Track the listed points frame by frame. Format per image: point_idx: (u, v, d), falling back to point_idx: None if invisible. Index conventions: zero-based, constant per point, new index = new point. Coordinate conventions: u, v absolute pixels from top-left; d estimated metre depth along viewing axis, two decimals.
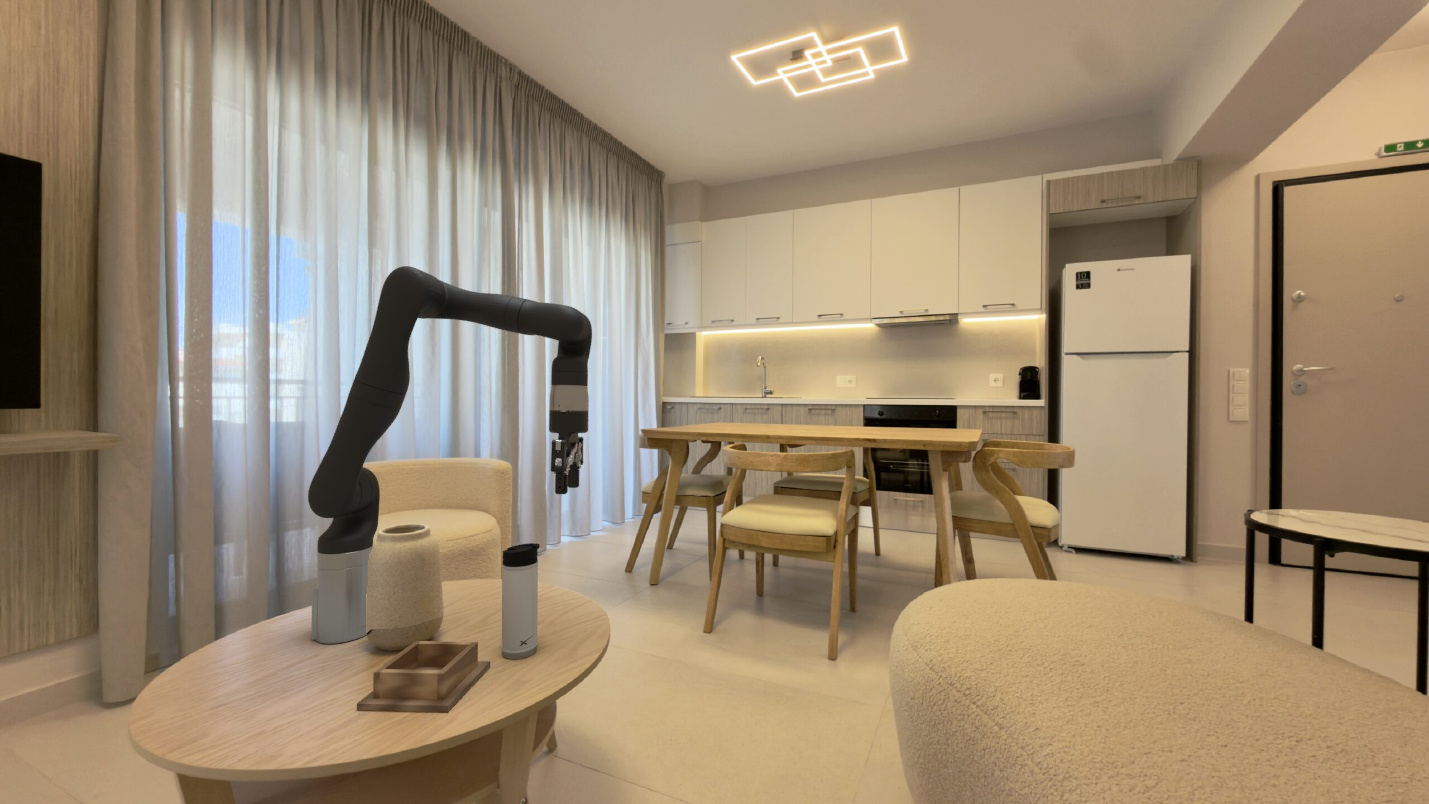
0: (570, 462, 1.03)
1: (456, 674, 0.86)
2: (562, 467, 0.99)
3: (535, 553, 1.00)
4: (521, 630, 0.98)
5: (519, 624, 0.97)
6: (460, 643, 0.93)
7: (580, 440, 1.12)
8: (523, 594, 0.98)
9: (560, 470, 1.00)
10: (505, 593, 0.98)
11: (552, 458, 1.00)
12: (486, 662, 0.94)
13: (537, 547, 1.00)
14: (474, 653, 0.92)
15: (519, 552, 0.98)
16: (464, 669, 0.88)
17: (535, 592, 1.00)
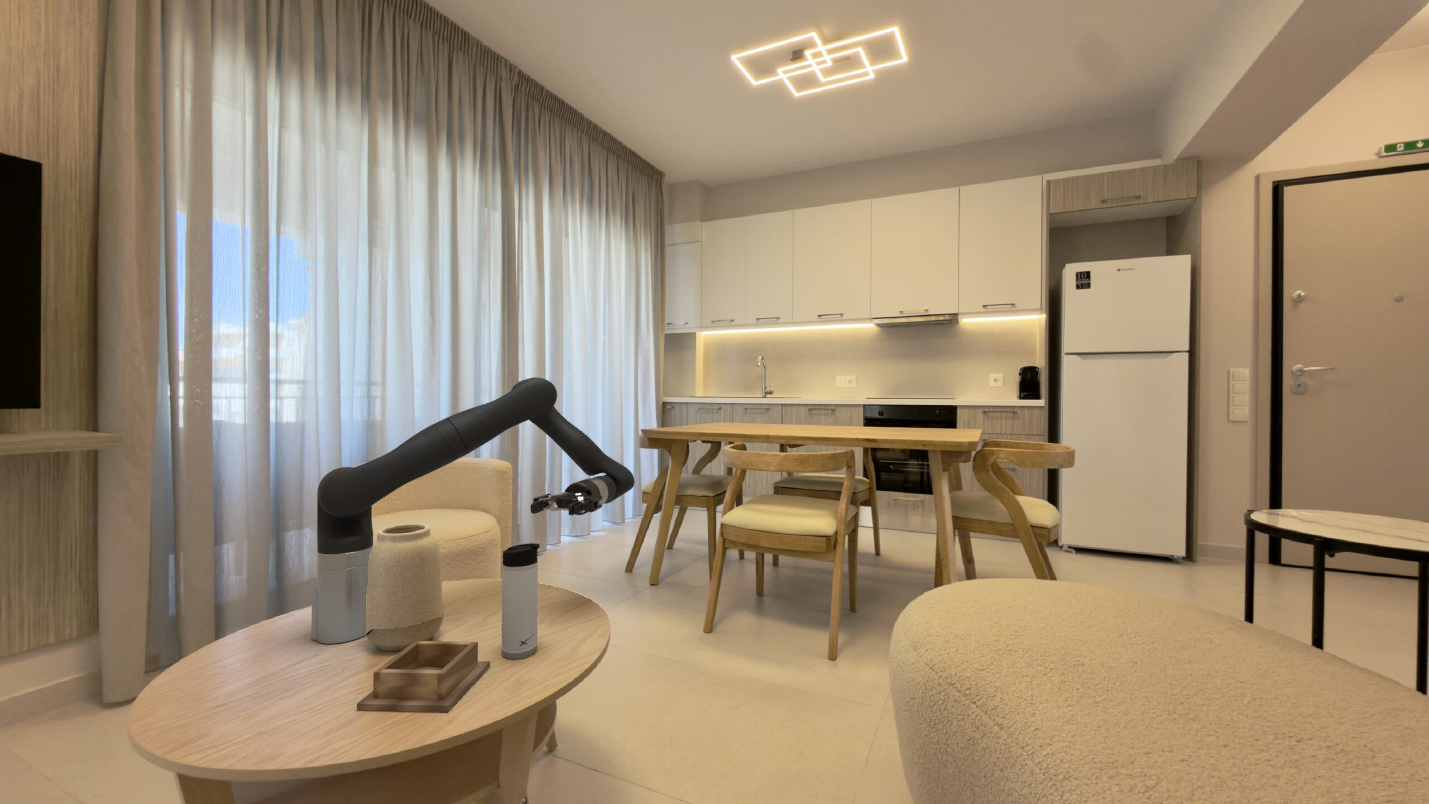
0: None
1: (456, 674, 0.86)
2: (594, 510, 1.15)
3: (535, 553, 1.00)
4: (521, 630, 0.98)
5: (519, 624, 0.97)
6: (460, 643, 0.93)
7: None
8: (523, 594, 0.98)
9: (592, 508, 1.14)
10: (505, 593, 0.98)
11: (597, 499, 1.16)
12: (486, 662, 0.94)
13: (537, 547, 1.00)
14: (474, 653, 0.92)
15: (519, 552, 0.98)
16: (464, 669, 0.88)
17: (535, 592, 1.00)
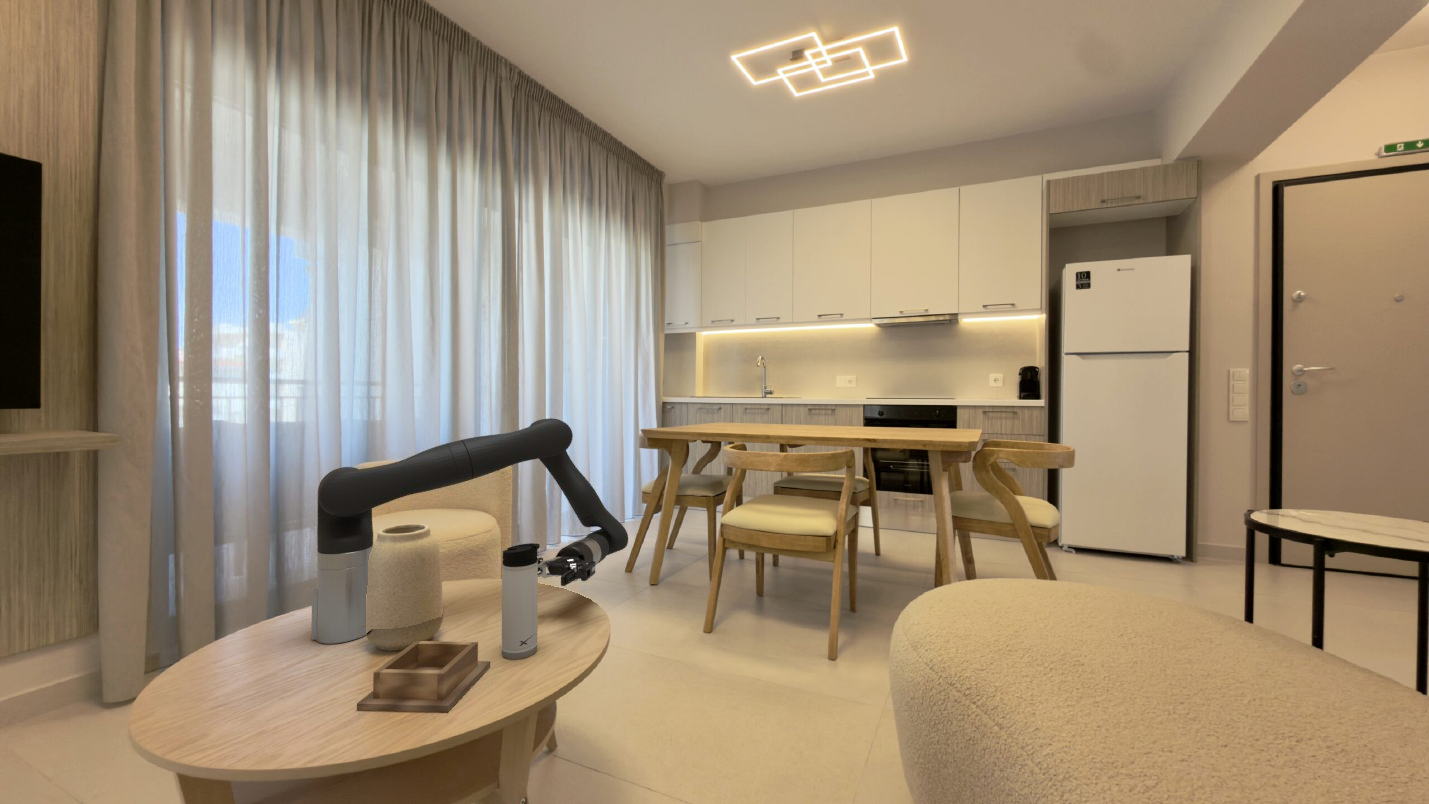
0: None
1: (456, 674, 0.86)
2: (587, 578, 1.12)
3: (535, 553, 1.00)
4: (521, 630, 0.98)
5: (519, 624, 0.97)
6: (460, 643, 0.93)
7: None
8: (523, 594, 0.98)
9: (585, 577, 1.12)
10: (505, 593, 0.98)
11: (590, 567, 1.14)
12: (486, 662, 0.94)
13: (537, 547, 1.00)
14: (474, 653, 0.92)
15: (519, 552, 0.98)
16: (464, 669, 0.88)
17: (535, 592, 1.00)
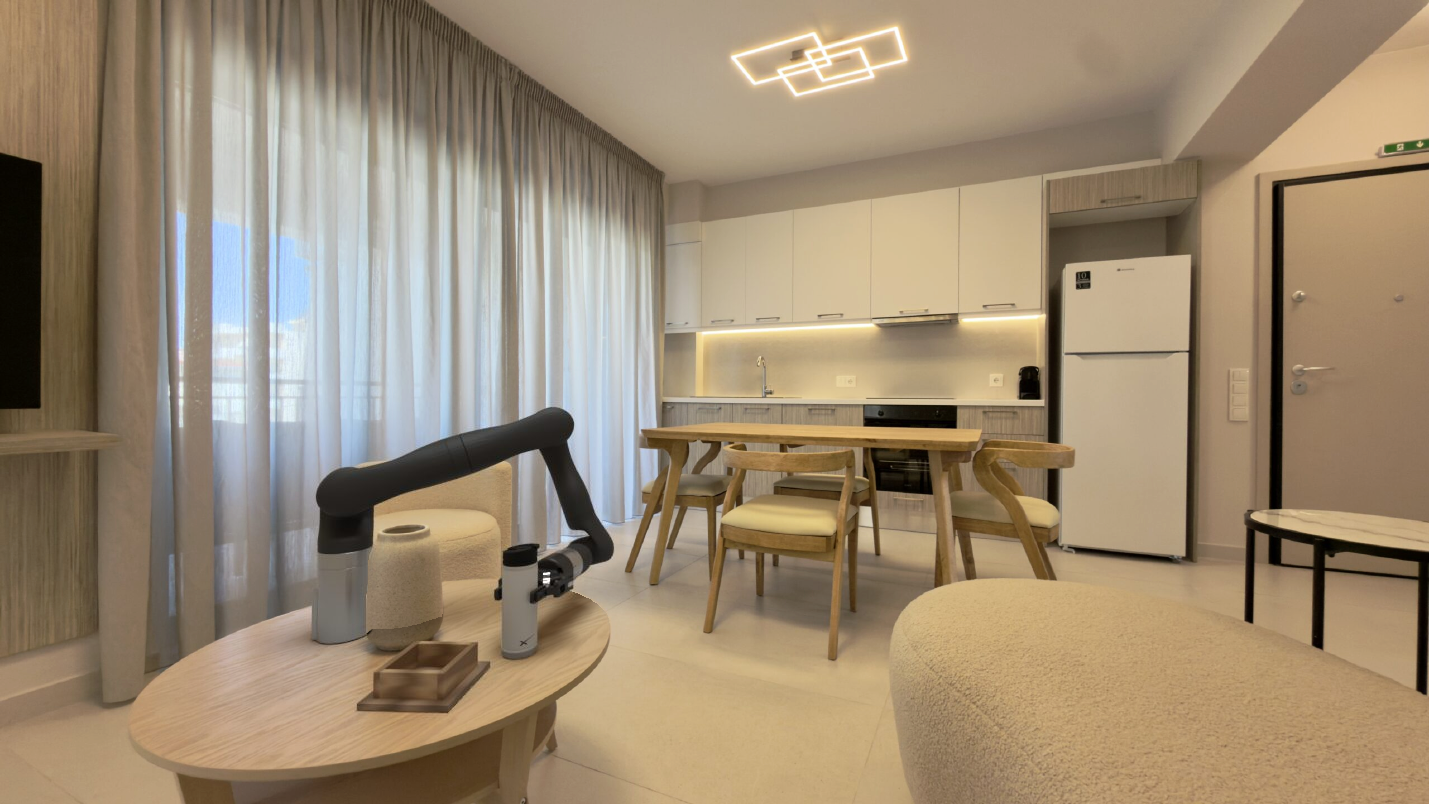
0: None
1: (456, 674, 0.86)
2: (560, 595, 1.02)
3: (535, 553, 1.00)
4: (521, 630, 0.98)
5: (519, 624, 0.97)
6: (460, 643, 0.93)
7: None
8: (523, 594, 0.98)
9: (558, 593, 1.02)
10: (505, 593, 0.98)
11: (565, 582, 1.04)
12: (486, 662, 0.94)
13: (537, 547, 1.00)
14: (474, 653, 0.92)
15: (519, 552, 0.98)
16: (464, 669, 0.88)
17: None
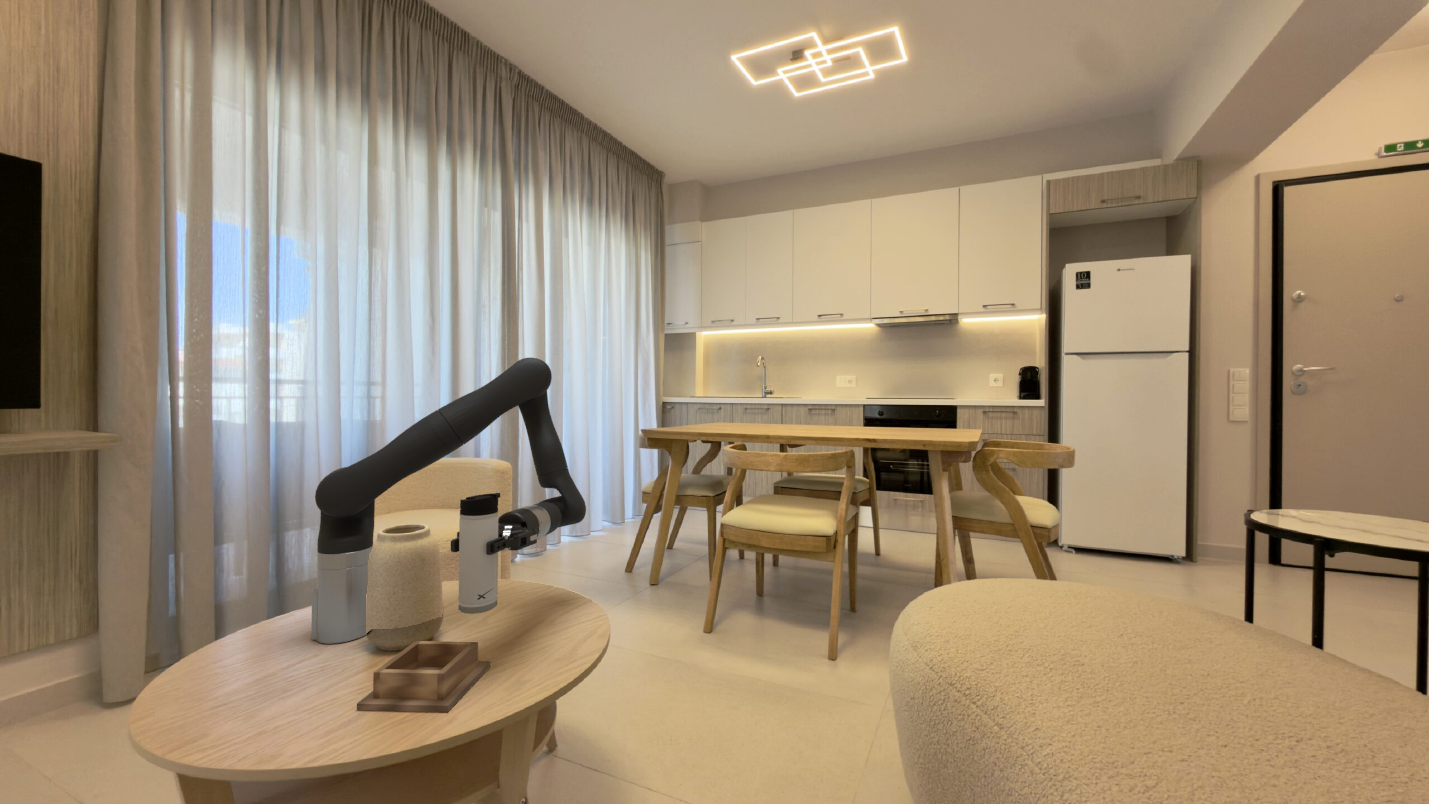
0: None
1: (456, 674, 0.86)
2: (520, 547, 0.96)
3: (495, 502, 0.94)
4: (479, 582, 0.92)
5: (477, 577, 0.91)
6: (460, 643, 0.93)
7: None
8: (481, 545, 0.92)
9: (518, 546, 0.96)
10: (462, 544, 0.92)
11: (526, 535, 0.98)
12: (486, 662, 0.94)
13: (497, 496, 0.94)
14: (474, 653, 0.92)
15: (477, 500, 0.92)
16: (464, 669, 0.88)
17: None
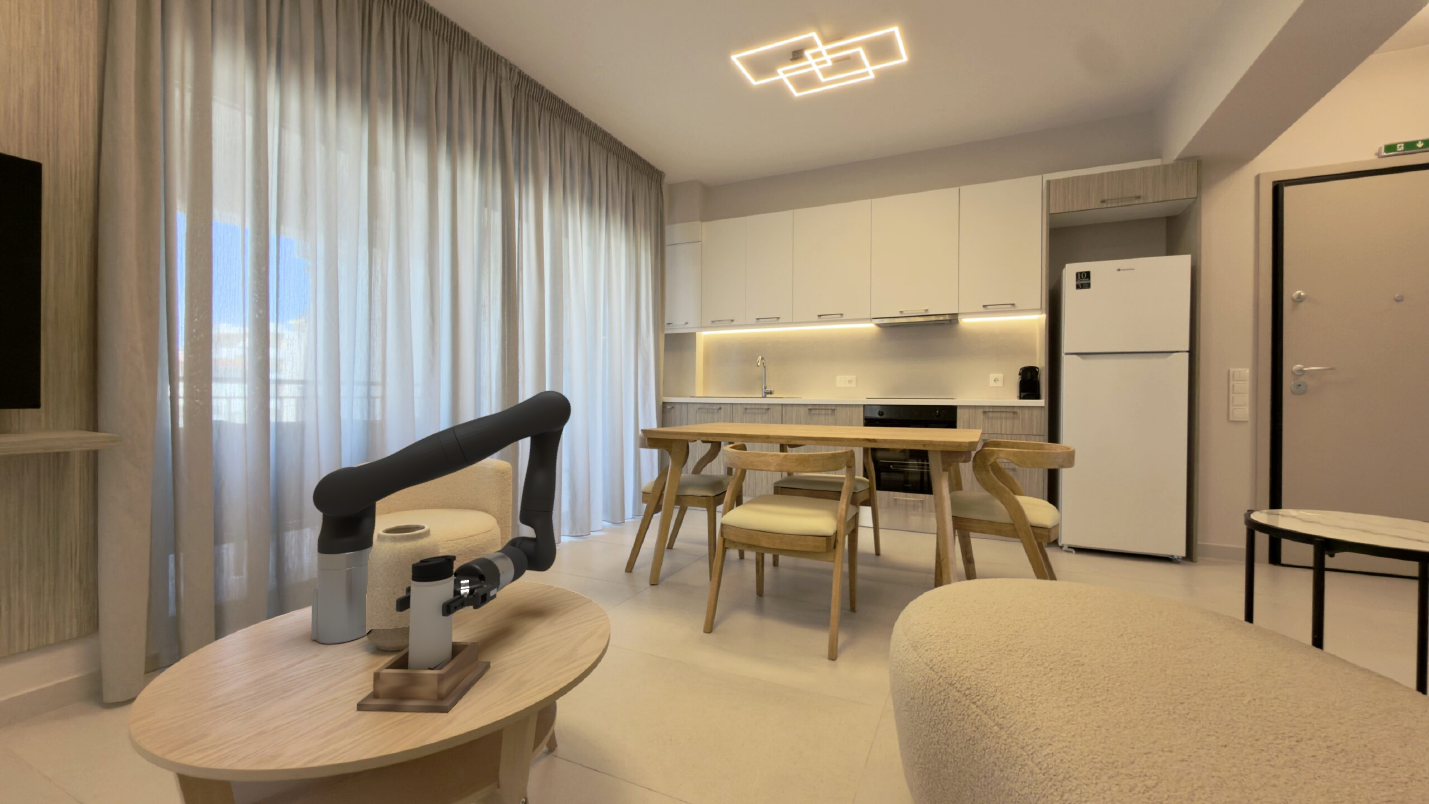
0: None
1: (456, 674, 0.86)
2: (481, 605, 0.90)
3: (450, 566, 0.88)
4: (430, 654, 0.85)
5: (427, 648, 0.85)
6: (460, 643, 0.93)
7: None
8: (433, 614, 0.86)
9: (478, 604, 0.89)
10: (412, 612, 0.86)
11: (486, 590, 0.91)
12: (486, 662, 0.94)
13: (452, 559, 0.88)
14: (474, 653, 0.92)
15: (429, 565, 0.86)
16: (464, 669, 0.88)
17: None
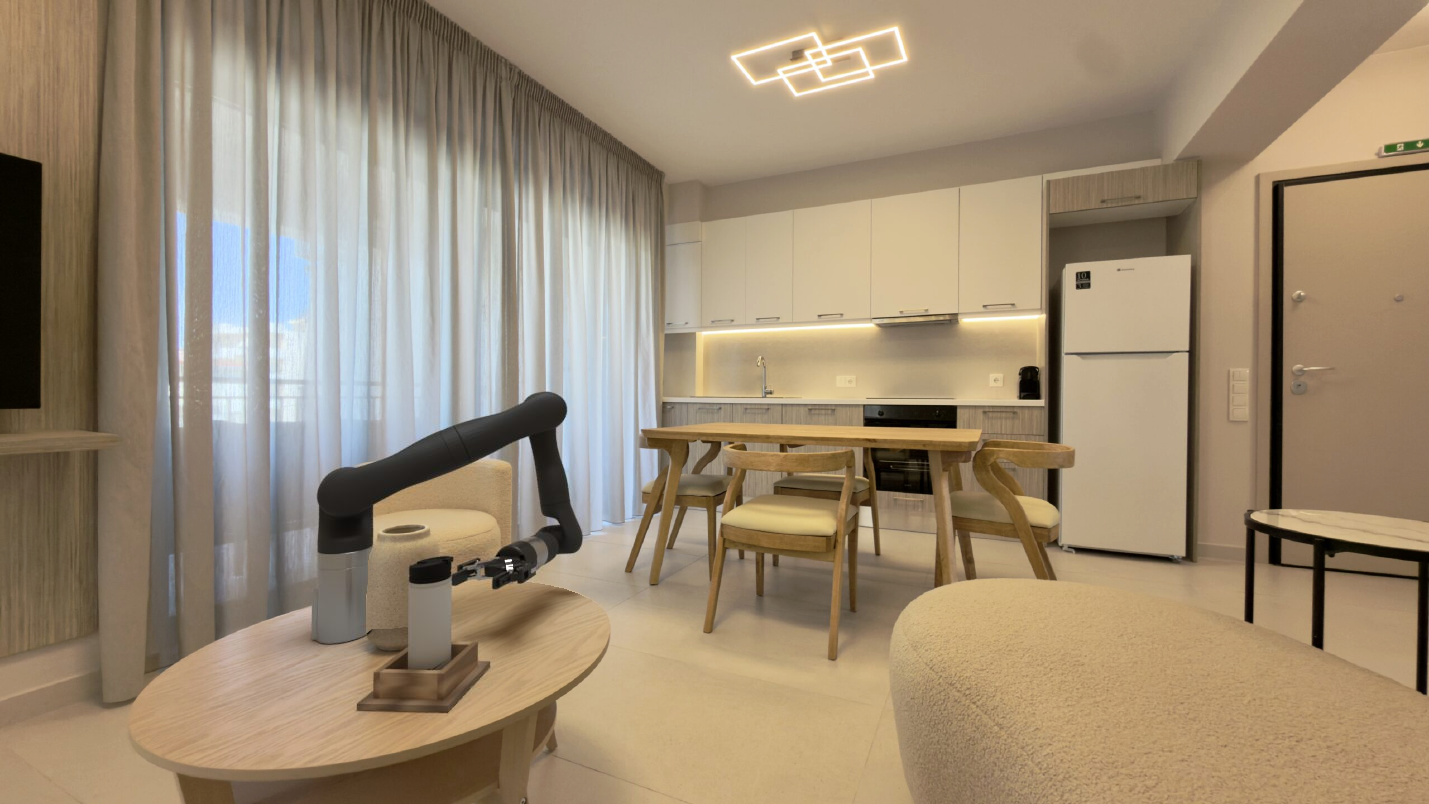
0: None
1: (456, 674, 0.86)
2: (524, 581, 1.02)
3: (447, 568, 0.88)
4: (429, 656, 0.85)
5: (426, 650, 0.85)
6: (460, 643, 0.93)
7: None
8: (431, 615, 0.85)
9: (522, 579, 1.02)
10: (410, 614, 0.85)
11: (528, 568, 1.04)
12: (486, 662, 0.94)
13: (449, 561, 0.88)
14: (474, 653, 0.92)
15: (426, 567, 0.85)
16: (464, 669, 0.88)
17: (447, 612, 0.87)
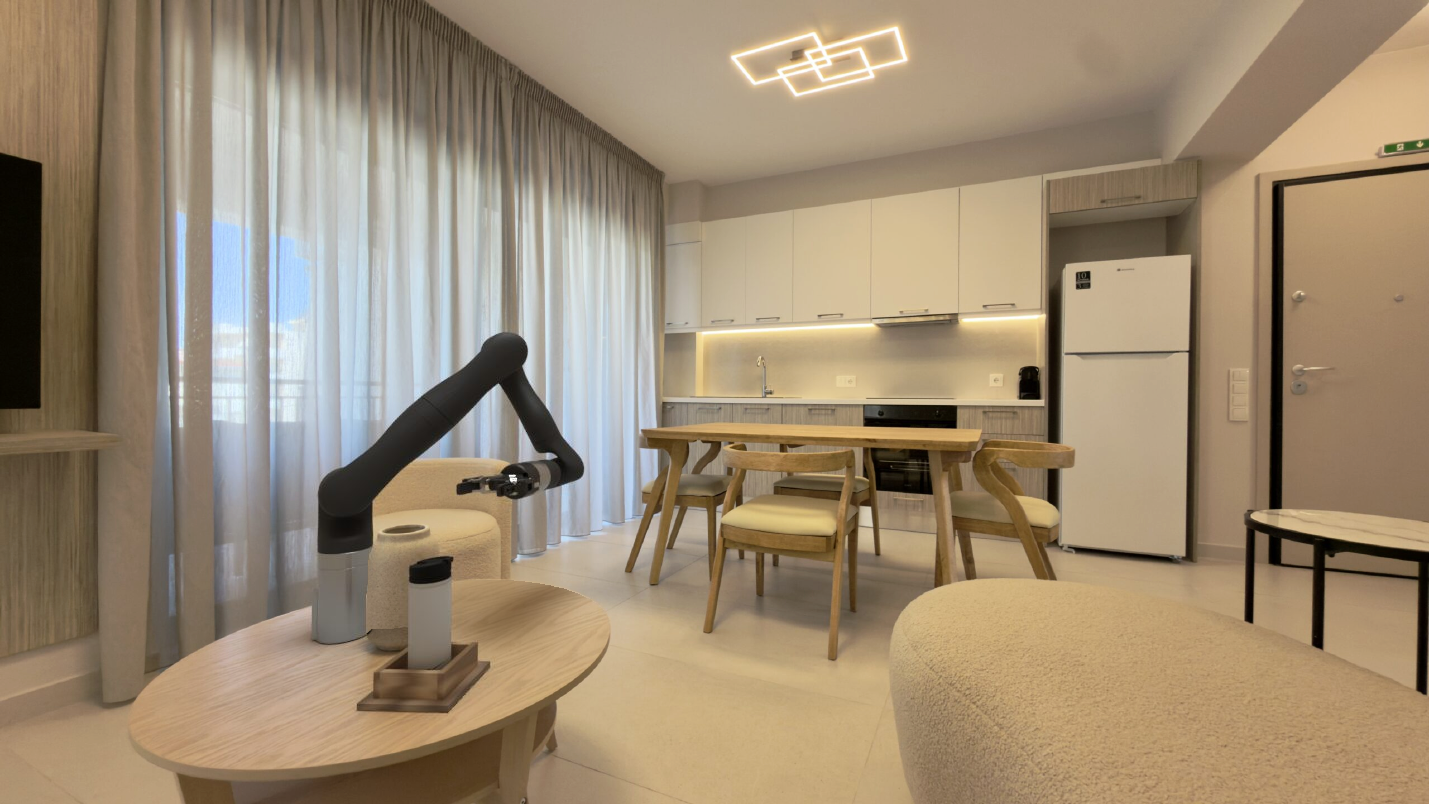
0: None
1: (456, 674, 0.86)
2: (527, 492, 1.05)
3: (447, 568, 0.88)
4: (429, 656, 0.85)
5: (426, 650, 0.85)
6: (460, 643, 0.93)
7: None
8: (431, 615, 0.85)
9: (525, 490, 1.04)
10: (410, 614, 0.85)
11: (531, 481, 1.06)
12: (486, 662, 0.94)
13: (449, 561, 0.88)
14: (474, 653, 0.92)
15: (426, 567, 0.85)
16: (464, 669, 0.88)
17: (447, 612, 0.87)
